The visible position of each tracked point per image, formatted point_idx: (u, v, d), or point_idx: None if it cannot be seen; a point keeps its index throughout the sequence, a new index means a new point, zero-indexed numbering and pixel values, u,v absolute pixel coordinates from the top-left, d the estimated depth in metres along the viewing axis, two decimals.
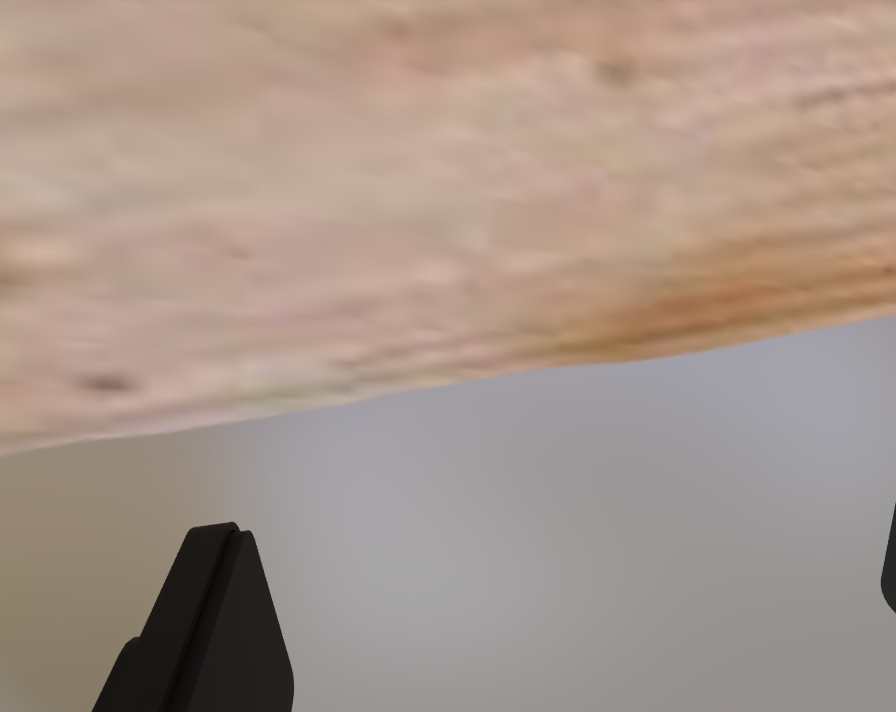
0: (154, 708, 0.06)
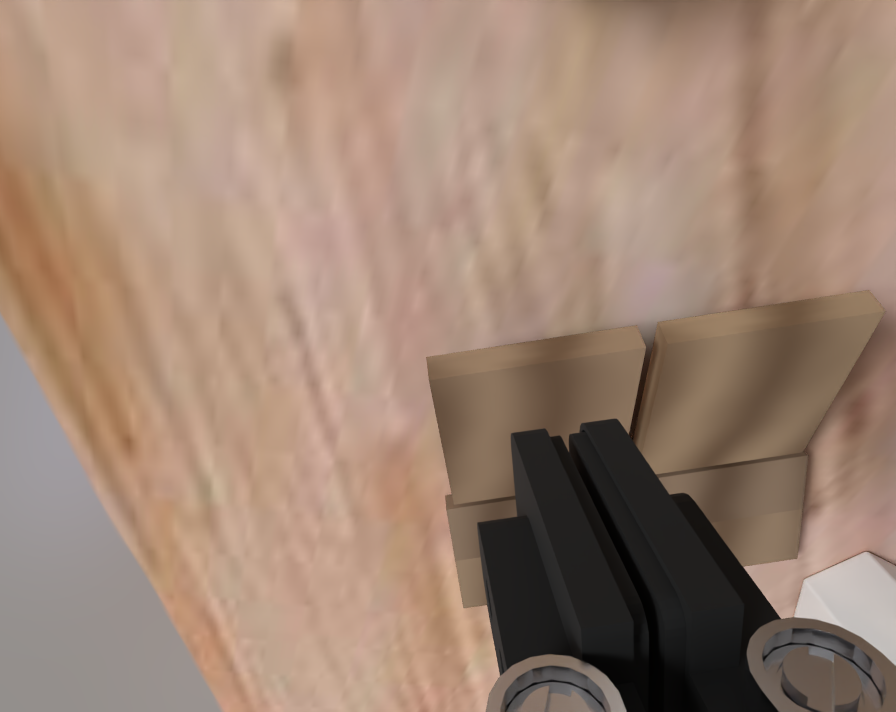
0: (597, 546, 0.07)
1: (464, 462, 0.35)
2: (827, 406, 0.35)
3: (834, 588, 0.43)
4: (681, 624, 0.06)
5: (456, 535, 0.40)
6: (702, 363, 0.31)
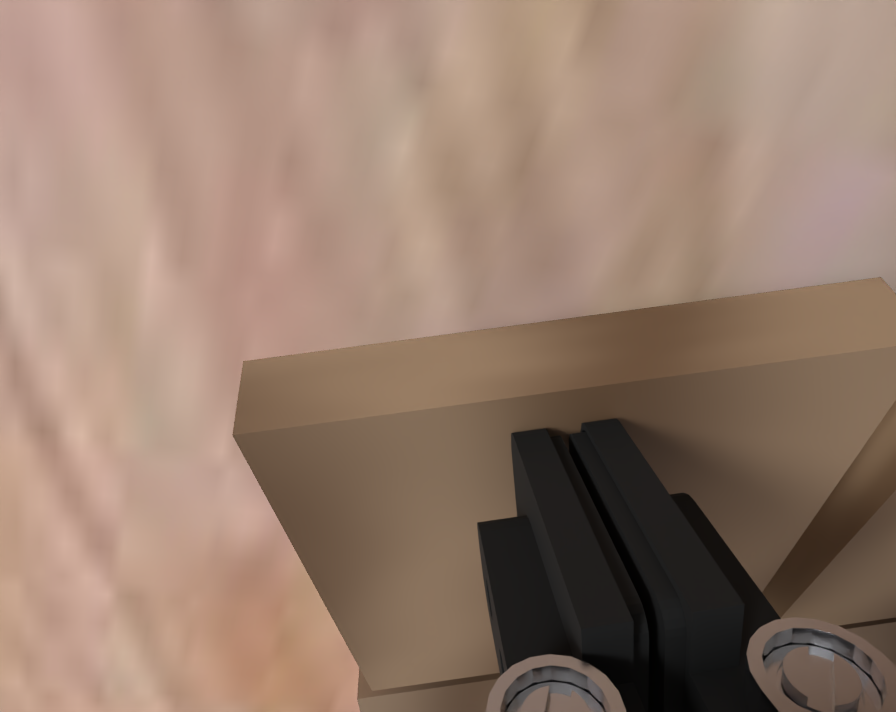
0: (597, 546, 0.07)
1: (383, 624, 0.14)
2: None
3: None
4: (681, 624, 0.06)
5: None
6: None
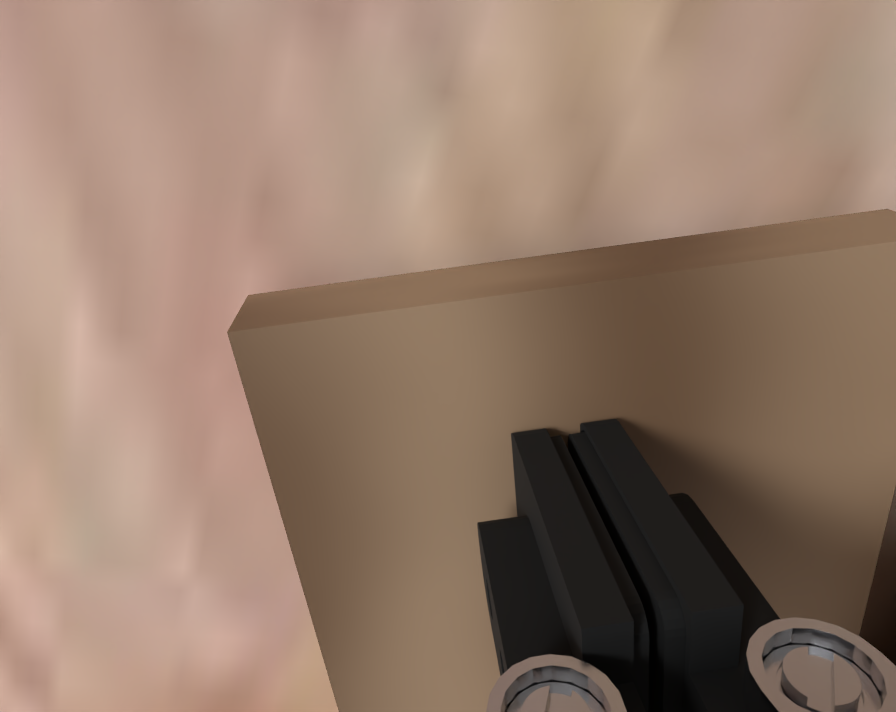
0: (597, 545, 0.07)
1: (387, 687, 0.12)
2: None
3: None
4: (680, 624, 0.06)
5: None
6: None
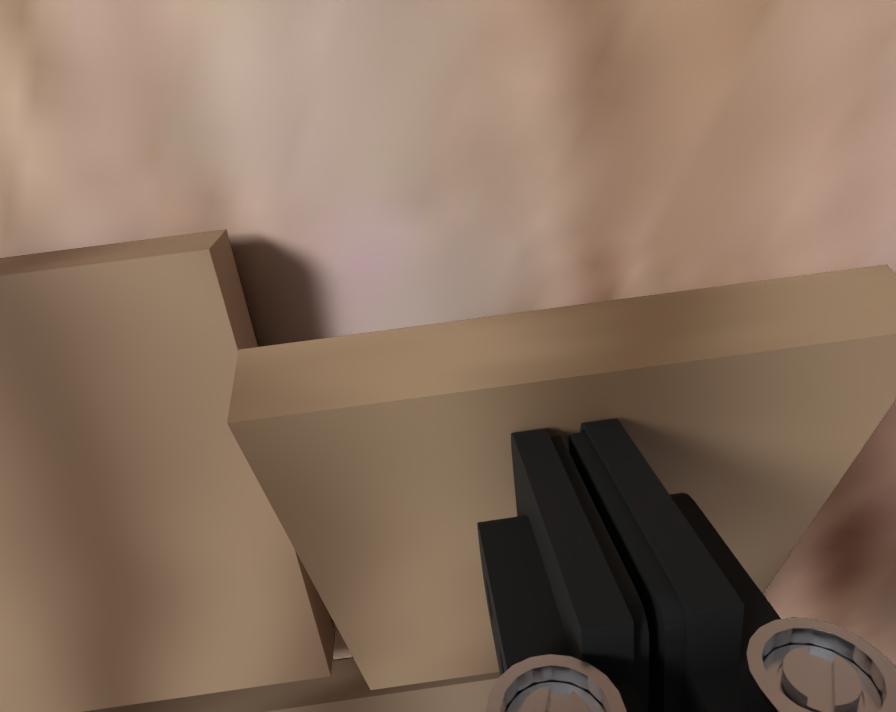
0: (597, 546, 0.07)
1: None
2: (777, 562, 0.14)
3: None
4: (681, 624, 0.06)
5: None
6: (388, 478, 0.10)
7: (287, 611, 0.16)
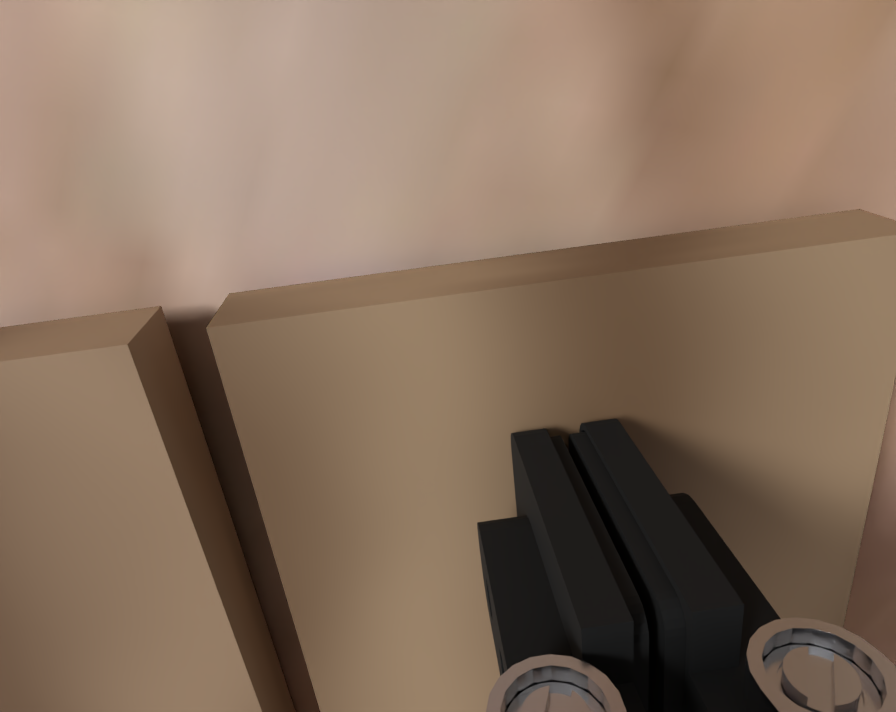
0: (597, 546, 0.07)
1: None
2: (838, 613, 0.12)
3: None
4: (681, 624, 0.06)
5: None
6: (371, 426, 0.10)
7: None
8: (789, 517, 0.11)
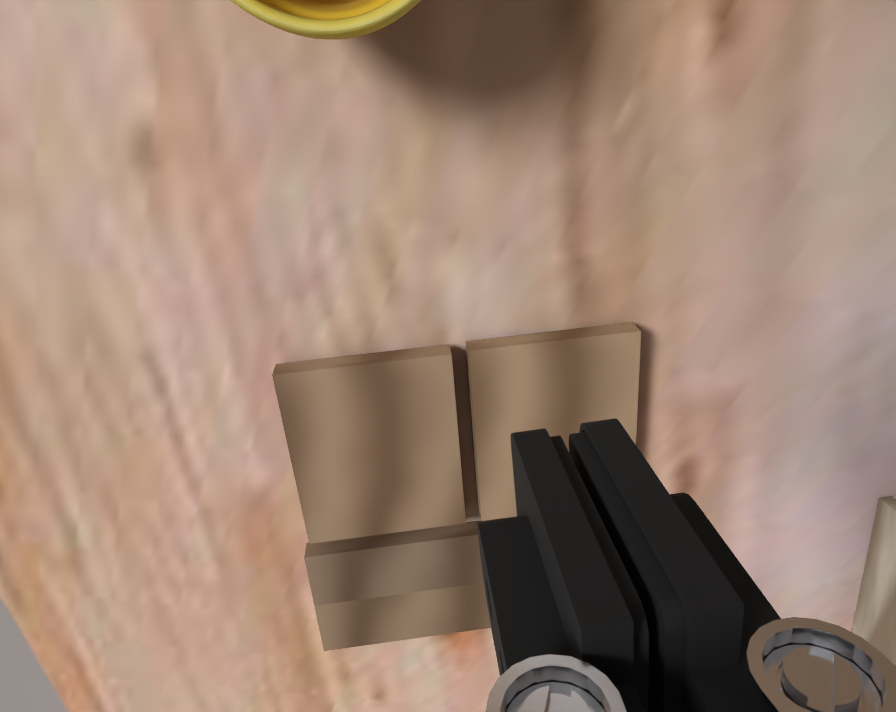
0: (597, 546, 0.07)
1: (313, 482, 0.39)
2: (633, 439, 0.40)
3: None
4: (681, 624, 0.06)
5: (314, 582, 0.42)
6: (504, 376, 0.37)
7: (453, 492, 0.40)
8: (615, 406, 0.39)
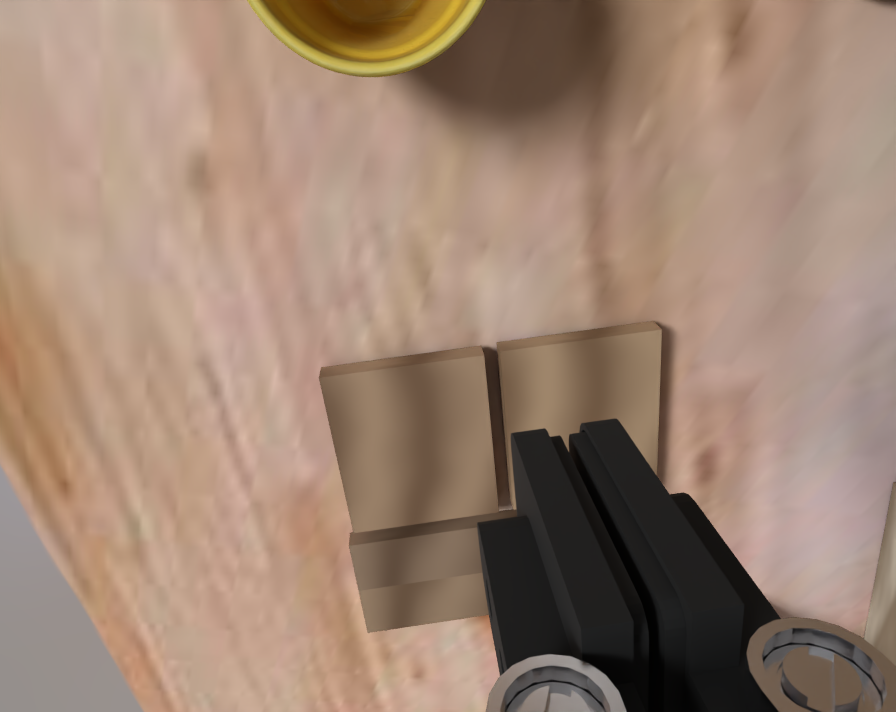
0: (597, 546, 0.07)
1: (356, 476, 0.42)
2: (656, 431, 0.42)
3: None
4: (681, 624, 0.06)
5: (358, 568, 0.45)
6: (533, 374, 0.40)
7: (487, 483, 0.43)
8: (638, 400, 0.41)
